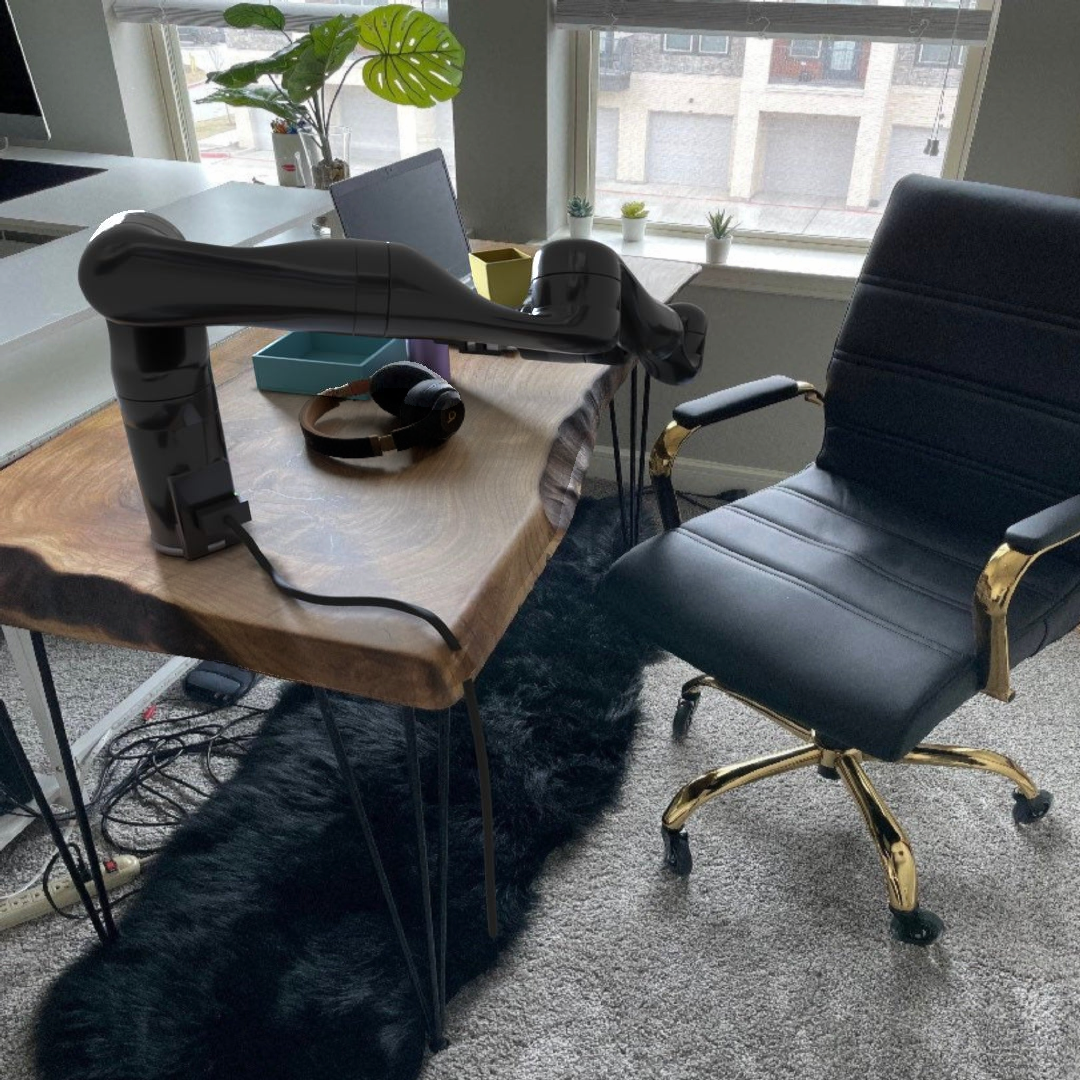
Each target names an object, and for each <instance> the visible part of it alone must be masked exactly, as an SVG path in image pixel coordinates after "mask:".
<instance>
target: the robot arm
mask: <svg viewBox="0 0 1080 1080" xmlns="http://www.w3.org/2000/svg"><path fill="white" fill-rule="evenodd" d="M77 282H78V287H79V289H80V292H81V294H82V296H83V298H84V299H85V301H86V303H88V304H89V306H90V307H91V308H92V309H93V310H94V311H95V312H96V313H98V314H99V315H100V316H102V317H103V318H104V319H105V324H106V328H107V335H108V342H109V343H108V345H109V367H110V368H109V370H110V375H111V379H112V383H113V387H114V391H115V395H116V398H117V402H118V406H119V410H120V414H121V418H122V424H123V427H124V431H125V435H126V439H127V442H128V447H129V451H130V455H131V459H132V462H133V466H134V471H135V475H136V478H137V483H138V487H139V492H140V495H141V498H142V502H143V507H144V511H145V514H146V518H147V522H148V526H149V530H150V539H151V543H152V545H153V547H154V548H155V549H156V550H157V551H158V552H160V553H162V554H165V555H168V556H174V557H184V558H186V559H187V560H188V561H192V560H195V559H197V558H200V557H203V556H206V555H208V554H211V553H213V552H216V551H219V550H222V549H224V548H227V547H231V546H232V545H235V544H237V543H240V542H243V544H244V545H245V547H246V548H247V549H248V551H249V553H250V554H251V556H252V557H253V558H254V559H255V561H256V562H257V563H258V564H259V567H261V569H262V570H263V571H265V572H266V574H268V576H269V577H270V579H271V581H272V583H273V584H274V585H275V587H276V588H277V589H278V590H279V591H280V592H282V594H283V593H284V594H285V595H287V596H289V597H292V598H294V599H297V600H299V601H302V602H305V603H309V604H313V605H319V606H325V607H326V606H327V607H376V608H386V609H391V610H395V611H399V612H401V613H402V612H403V613H405V614H409V615H412V616H415V617H418V618H420V619H422V620H424V621H425V622H427V623H428V624H429V625H430V626H432V627H433V629H434V630H435V631H436V632H437V633H438V634H439V635H440V636H441V638H442V639H443V641H444V642H445V644H446V645H447V646H448V648H449V649H450V650H451V651H454V652H459V651H461V650H462V645H461V644H460V642H459V640H458V639H457V637H456V636H455V634H454V633H453V631H451V629H450V628H449V627H448V625H447V624H446V623H445V621H443V620H442V619H441V618H440V617H439V616H438V615H437V614H436V613H434V612H433V611H431V610H429V609H427V608H424V607H422V606H419V605H415V604H413V603H411V602H406V601H403V600H399V599H396V598H392V597H383V596H373V595H372V596H371V595H344V596H343V595H326V594H325V595H324V594H317V593H311V592H308V591H305V590H302V589H300V588H298V587H295V586H294V585H291V584H289V583H287V582H286V581H285V580H284V579H283V578H282V577H281V576H280V574H279V573H278V572H277V570H276V569H275V567H274V566H273V565H272V563H271V562H270V561H269V560H268V558H267V557H266V556H265V554H264V552H262V550H261V549H260V548H259V546H258V544H257V543H256V541H255V540H254V538H253V537H252V536H251V534H250V533H249V532H248V531H247V529H246V528H244V527H245V526H244V524H246V523H249V522H251V521H253V518H252V512H251V509H250V508H251V507H250V501H249V500H248V499H247V498H245V497H244V496H243V495H241V494H240V493H238V494H237V492H236V491H237V490H236V487H235V482H234V481H235V480H234V475H233V471H232V467H231V462H230V456H229V451H228V446H227V441H226V437H225V431H224V426H223V421H222V415H221V410H220V406H219V400H218V395H217V390H216V385H215V380H214V373H213V369H212V363H211V352H210V341H209V340H210V339H209V333H208V332H209V331H208V328H209V327H247V328H259V329H267V330H268V329H269V330H276V331H285V332H286V331H287V332H291V331H297V332H310V333H325V334H335V335H343V336H353V337H369V338H386V339H420V340H433V341H434V343H435V344H444V345H449V346H456V347H458V353H459V354H462V355H478V356H495V357H499V356H503V349H507V348H515V349H516V350H517V352H518V355H519V357H520V358H521V359H522V360H524V361H534V362H535V361H536V362H544V363H545V362H547V363H559V364H569V365H571V364H572V365H573V364H575V365H576V364H593V365H603V366H613V367H621V366H625V365H627V364H628V363H629V362H630V361H631V359H632V357H633V356H634V357H635V356H636V357H637V359H638V360H639V361H640V363H641V365H642V367H643V368H644V370H645V371H646V372H647V373H648V374H649V376H651V377H652V378H653V379H655V380H656V381H658V382H660V383H662V384H664V385H668V386H672V387H678V386H679V387H681V386H686V385H689V384H691V383H693V382H694V381H696V379H697V378H698V377H699V376H700V374H701V372H702V367H703V363H704V355H705V347H706V341H707V339H706V338H707V331H708V322H709V321H708V316H707V314H706V312H705V311H704V310H703V309H702V308H701V307H699V306H698V305H696V304H694V303H690V302H674V303H669V304H668V303H667V304H665V303H664V302H662V301H660V300H658V299H657V298H655V297H654V296H652V295H651V294H650V293H649V292H648V291H647V290H646V289H645V287H644V286H643V284H642V283H641V282H640V280H639V279H638V278H637V276H636V275H635V274H634V272H632V270H631V269H630V268H629V266H628V265H627V264H626V263H625V261H624V260H623V258H622V257H621V256H620V254H618V252H617V251H615V250H614V249H613V248H612V247H610V246H609V245H607V244H605V243H604V242H603V243H602V242H600V241H597V240H593V239H590V238H579V237H577V238H576V237H575V238H572V237H571V238H563V239H557V240H553V241H549V242H547V243H545V244H544V245H542V246H541V247H540V248H538V249H537V251H536V253H535V255H534V257H533V263H532V275H531V295H530V296H531V298H530V299H531V300H530V301H531V303H527V304H525V305H524V306H521V307H519V306H508V305H500V304H497V303H495V302H493V301H491V300H489V299H487V298H485V297H483V296H481V295H480V294H478V292H477V291H475V290H473V289H472V288H471V287H469V286H468V285H467V284H465V283H464V282H463V281H461V280H460V279H459V278H457V277H456V276H454V275H453V274H452V273H451V272H449V270H447V269H445V268H444V267H443V266H442V265H440V264H439V263H438V262H436V261H435V260H433V259H432V258H431V257H429V256H428V255H427V254H425V253H423V252H421V251H420V250H418V249H416V248H414V247H413V246H410V245H408V244H405V243H400V242H394V241H386V240H385V241H384V240H375V239H374V240H373V239H363V238H362V239H361V238H353V237H351V238H350V237H326V238H313V239H305V240H297V241H290V242H289V241H288V242H283V243H276V244H270V245H269V244H268V245H261V246H231V245H229V246H228V245H220V244H214V243H207V242H206V243H205V242H199V241H191V240H187V239H186V238H185V236H184V234H183V233H182V232H181V230H179V228H178V227H176V225H174V223H172V222H171V221H170V220H168V219H166V218H165V217H163V216H161V215H159V214H156V213H154V212H150V211H145V210H128V211H123V212H120V213H117V214H114V215H113V216H111V217H110V218H108V219H106V220H105V221H104V222H103V223H101V225H100V226H99V228H98V229H97V230H96V231H95V233H94V234H93V235H92V237H91V238H90V240H89V241H88V243H87V244H86V246H85V248H84V249H83V251H82V254H81V256H80V259H79V262H78V267H77ZM461 685H462V689H463V694H464V697H465V702H466V707H467V712H468V715H469V719H470V726H471V731H472V735H473V742H474V747H475V757H476V763H477V771H478V778H479V787H480V800H481V801H480V802H481V815H482V831H483V857H484V858H483V859H484V878H485V880H484V881H485V897H486V898H485V899H486V900H485V901H486V913H487V924H488V926H487V927H488V936H489V937H490V938H492V939H494V938H497V937H498V936H499V928H498V915H497V914H498V913H497V900H496V881H495V879H496V878H495V853H494V852H495V851H494V850H495V849H494V848H495V847H494V824H493V821H494V820H493V805H492V804H493V803H492V802H493V801H492V791H491V790H492V789H491V780H490V771H489V762H488V761H489V760H488V755H487V747H486V746H487V745H486V741H485V734H484V729H483V724H482V723H483V722H482V719H481V718H482V717H481V713H480V709H479V708H480V707H479V704H478V699H477V696H476V695H477V694H476V691H475V690H476V689H475V685H474V681H473V677H470V678H467V679H465V680H464V681H462V682H461Z"/></svg>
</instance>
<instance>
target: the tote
mask: <svg viewBox="0 0 1080 1080" xmlns="http://www.w3.org/2000/svg"><path fill="white" fill-rule="evenodd" d="M251 359H252V366H253V372H254V377H255V383H256V389H257V390H263V391H269V392H270V391H273V392H281V393H291V394H298V395H299V394H300V395H310V396H318V395H317V394H318V393H321V392H323V391H325V390H326V389H329V388H335V387H341V386H343V385H345V384H347V383H349V382H352V381H355V380H360V379H365V378H369V377H370V376H372V375H373V374H374V373H375V372H376V371H378V370H379V369H381V368H382V367H383V366H385V365H388V364H390V363H394V362H399V361H404V360H405V361H408V358H407V347H406V339H386V338H369V337H353V336H343V335H335V334H325V333H310V332H297V331H288V333H286V334H284V335H283V336H281V337H279V338H278V339H277V340H275V341H273V342H272V343H270V344H269V345H267V346H266V347H264V348H262V349H261V350H259V351H258V352H256V353H255V354H253V355H251ZM371 397H372V396H371V395H370V393H369V392H367V393H366V394H361V395H357V396H352V397H348V398H346V399H348V400H356V401H357V400H358V401H367V400H368V399H370V398H371Z"/></svg>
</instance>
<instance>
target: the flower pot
mask: <svg viewBox="0 0 1080 1080" xmlns="http://www.w3.org/2000/svg"><path fill="white" fill-rule="evenodd" d="M468 258H469V266H470V270H471V277H472V281H473V284H474V287H475V289H476V292H477V293H478V294H480V295H481V296H483V297H485V298H487V299H489V300H491V301H493V302H495V303H497V304H500V305H508V306H519V307H523V304H524V302H525V301H526V299H527V297H528V295H529V292H530V288H531V286H532V269H533V262H534V257H533V256H532V255H530V254H527V253H526V252H523V251H522V250H520V249H518V248H516V247H514V246H510V247H503V248H496V249H488V250H480V251H474V252H473V251H472V252H469V253H468Z"/></svg>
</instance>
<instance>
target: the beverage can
mask: <svg viewBox="0 0 1080 1080" xmlns="http://www.w3.org/2000/svg"><path fill="white" fill-rule="evenodd" d="M406 347H407V358H408V361H410V362H416V363H419V364H422V365H423V366H426V367H427V368H428V369H430V370H432V371H433V372H435V373H437V374H438V375H440V376H441V378H443V379H444V380H446V381H447V382H448V383H449V384H450V381H451V380H452V374H451V360H450V359H451V357H450V345H444V344H435V343H434V341H433V340H420V339H406Z"/></svg>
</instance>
